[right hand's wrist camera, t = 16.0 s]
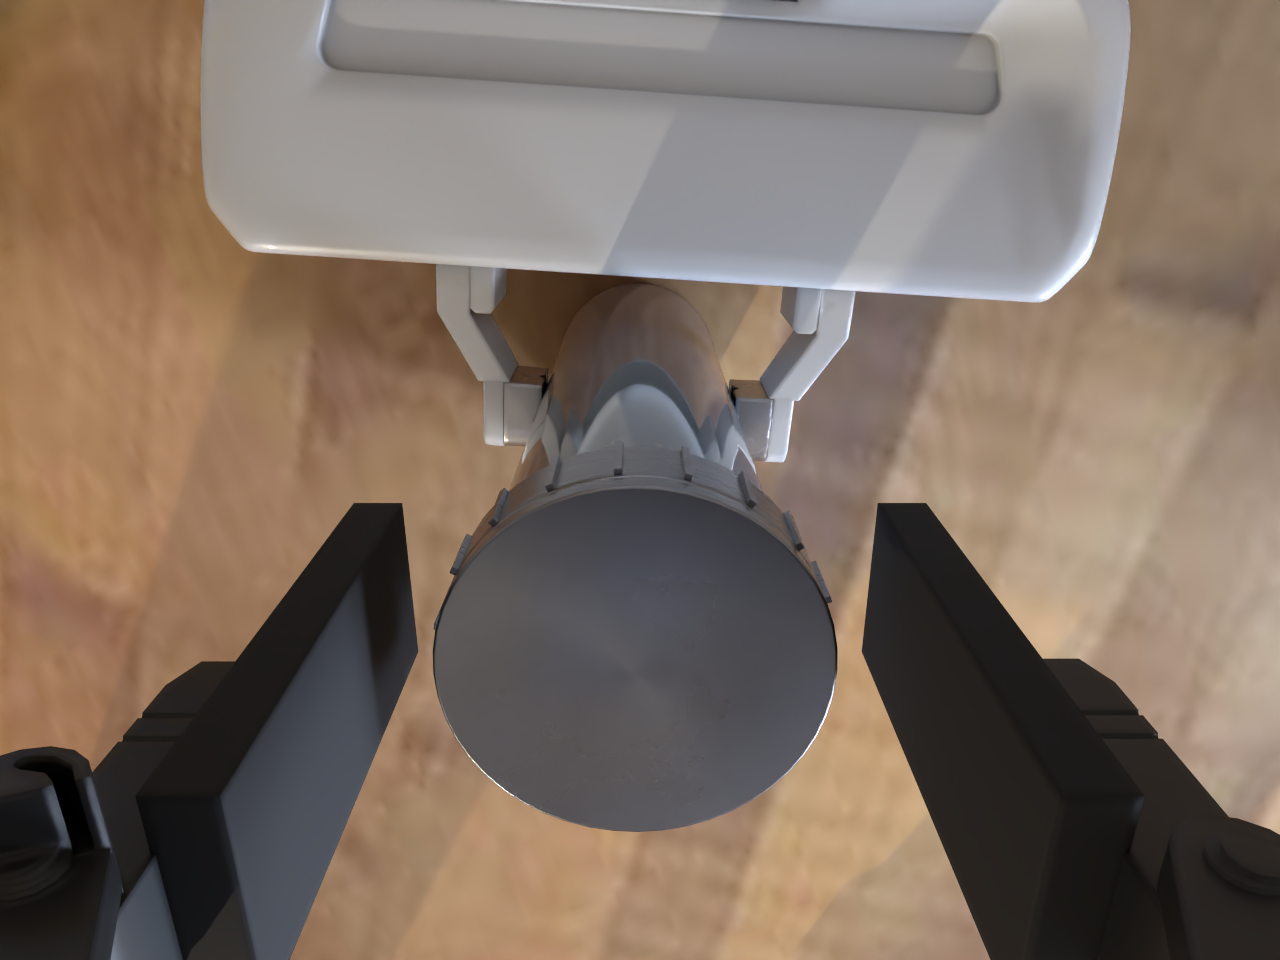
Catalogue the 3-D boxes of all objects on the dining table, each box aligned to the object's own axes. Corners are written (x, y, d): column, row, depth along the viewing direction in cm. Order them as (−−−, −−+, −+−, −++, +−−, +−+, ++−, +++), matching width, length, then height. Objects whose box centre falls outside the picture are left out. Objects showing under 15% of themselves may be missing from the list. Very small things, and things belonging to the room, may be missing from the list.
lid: (488, 397, 12) (467, 433, 11) (873, 490, 13) (904, 538, 12) (422, 723, 15) (396, 793, 13) (758, 793, 15) (771, 867, 14)
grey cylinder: (580, 265, 28) (498, 458, 12) (732, 305, 28) (857, 543, 12) (547, 412, 30) (434, 758, 13) (690, 447, 30) (750, 822, 14)
